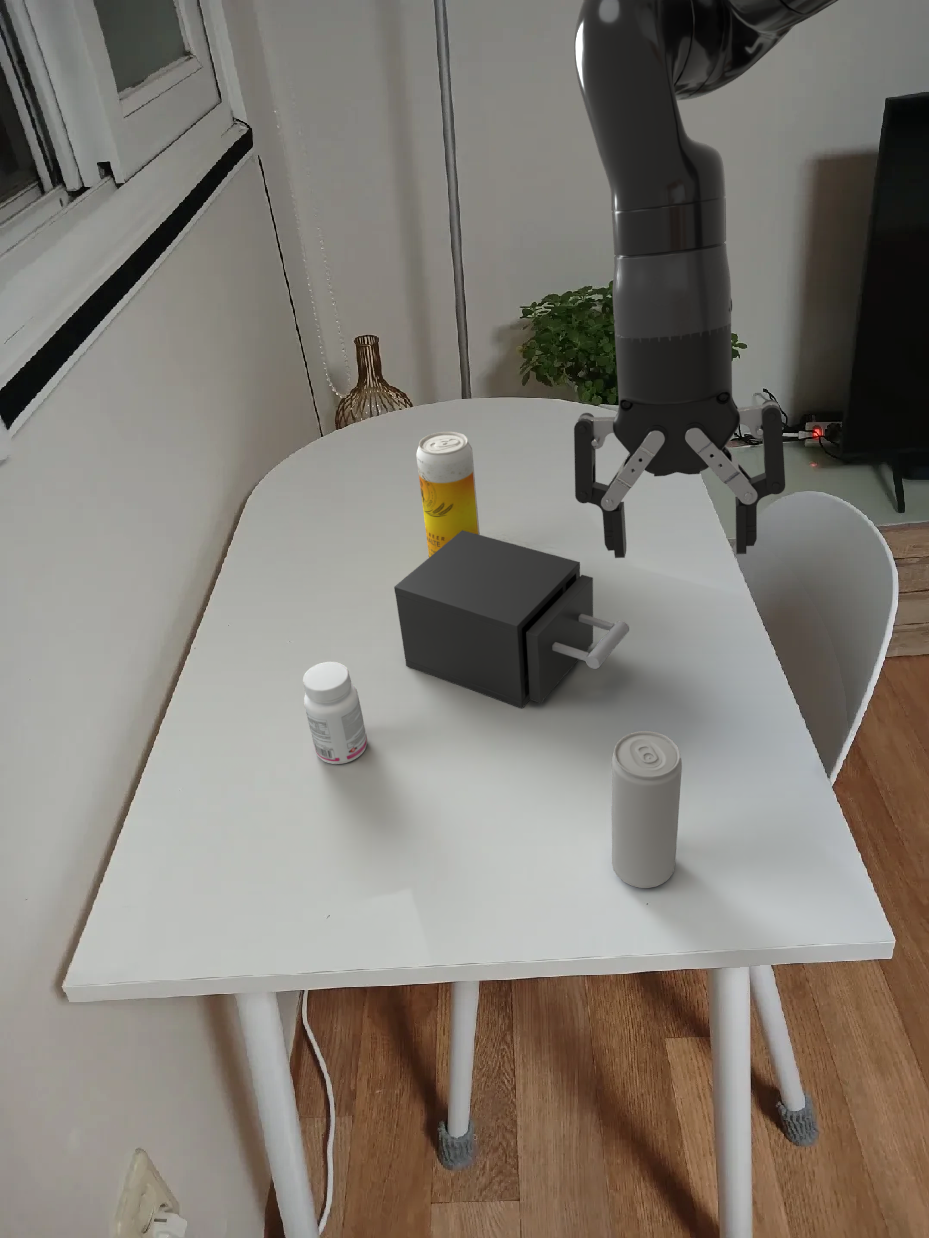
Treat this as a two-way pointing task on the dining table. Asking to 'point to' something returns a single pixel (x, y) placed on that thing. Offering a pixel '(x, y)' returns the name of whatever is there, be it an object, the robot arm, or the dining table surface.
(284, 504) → the dining table surface
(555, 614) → the drawer
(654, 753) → the beverage can
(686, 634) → the dining table surface
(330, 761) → the pill bottle
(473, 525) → the beer can
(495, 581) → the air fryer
